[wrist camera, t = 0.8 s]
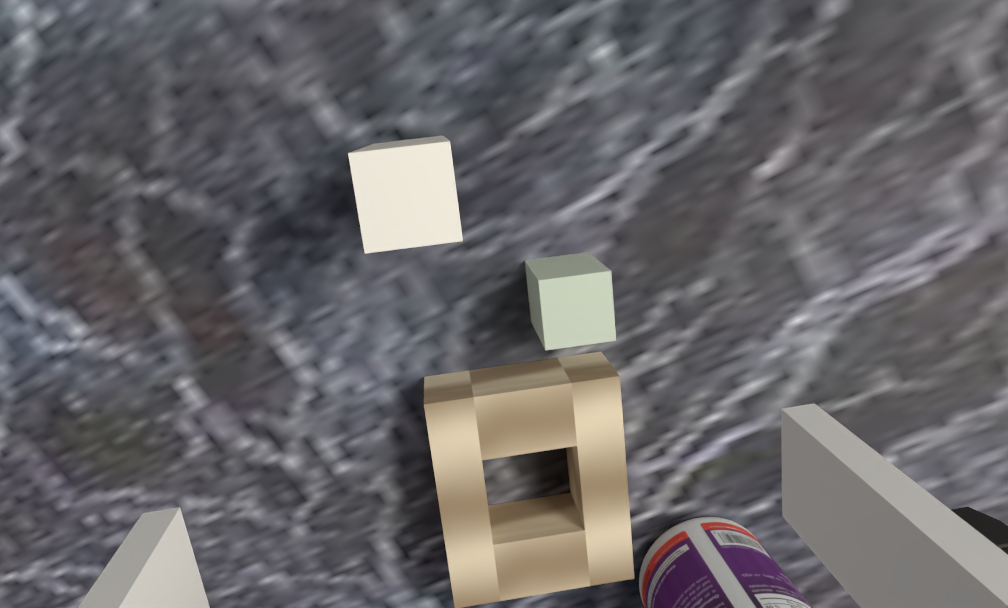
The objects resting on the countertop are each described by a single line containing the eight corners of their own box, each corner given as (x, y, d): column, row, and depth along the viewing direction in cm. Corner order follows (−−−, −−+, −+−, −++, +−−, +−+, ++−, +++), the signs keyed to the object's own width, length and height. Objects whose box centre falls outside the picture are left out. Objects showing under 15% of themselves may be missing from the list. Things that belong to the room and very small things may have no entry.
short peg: (524, 260, 38) (538, 280, 33) (588, 252, 38) (611, 270, 33) (531, 322, 39) (545, 350, 34) (593, 313, 39) (616, 340, 34)
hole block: (424, 376, 39) (423, 404, 35) (601, 351, 40) (619, 376, 36) (452, 563, 42) (454, 608, 38) (615, 537, 43) (634, 578, 39)
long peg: (373, 143, 35) (348, 153, 24) (442, 135, 36) (449, 141, 24) (384, 212, 36) (364, 253, 25) (451, 203, 37) (462, 240, 25)
